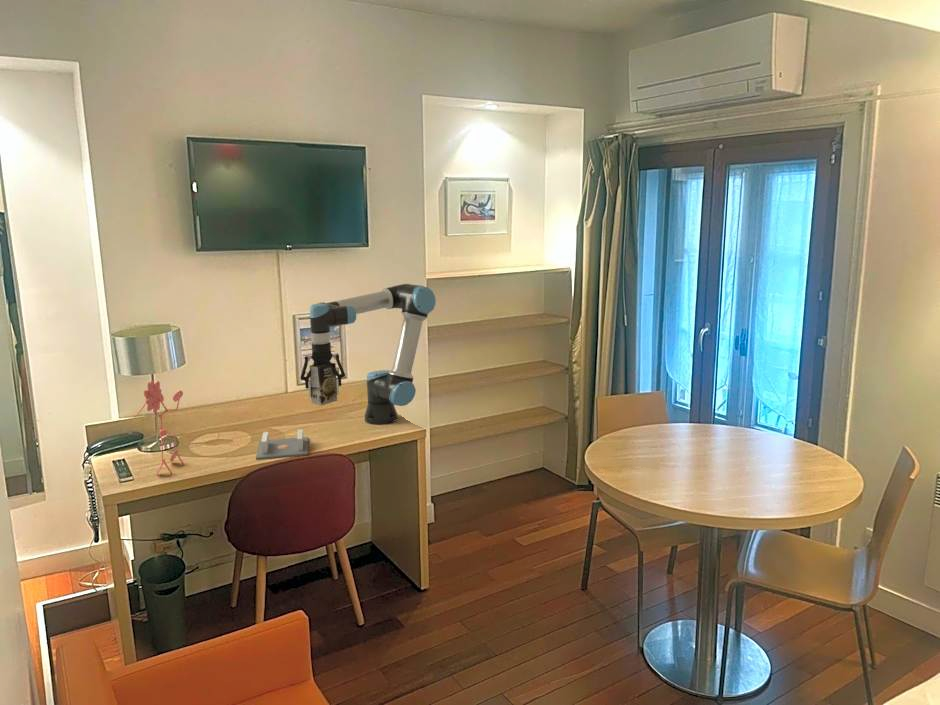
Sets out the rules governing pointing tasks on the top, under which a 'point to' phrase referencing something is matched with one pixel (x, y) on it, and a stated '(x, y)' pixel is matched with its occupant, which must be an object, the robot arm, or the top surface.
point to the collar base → (282, 446)
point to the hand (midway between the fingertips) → (324, 394)
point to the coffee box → (323, 384)
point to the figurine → (153, 402)
